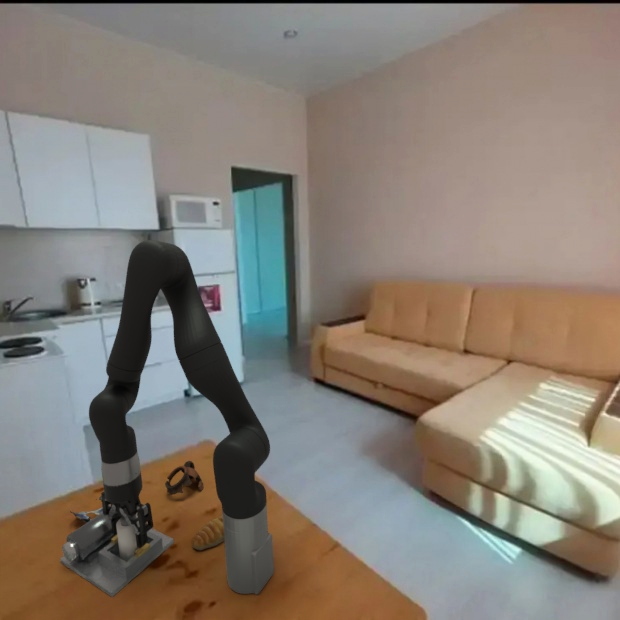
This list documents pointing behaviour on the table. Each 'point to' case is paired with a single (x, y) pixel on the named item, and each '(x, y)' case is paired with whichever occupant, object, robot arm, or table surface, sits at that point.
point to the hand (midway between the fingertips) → (129, 538)
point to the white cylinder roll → (126, 539)
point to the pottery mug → (183, 478)
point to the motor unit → (108, 555)
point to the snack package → (83, 516)
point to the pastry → (209, 534)
